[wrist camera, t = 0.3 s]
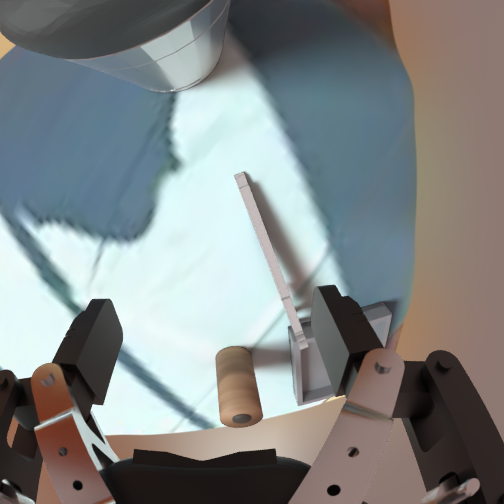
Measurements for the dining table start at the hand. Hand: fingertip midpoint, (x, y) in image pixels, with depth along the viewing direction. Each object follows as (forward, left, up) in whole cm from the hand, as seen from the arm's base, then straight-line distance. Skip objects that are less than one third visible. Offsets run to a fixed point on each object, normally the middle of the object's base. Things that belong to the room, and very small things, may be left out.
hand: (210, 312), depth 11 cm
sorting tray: (+27, +13, -19) cm, 36 cm away
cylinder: (+23, -2, -19) cm, 30 cm away
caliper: (+9, +5, -19) cm, 22 cm away
